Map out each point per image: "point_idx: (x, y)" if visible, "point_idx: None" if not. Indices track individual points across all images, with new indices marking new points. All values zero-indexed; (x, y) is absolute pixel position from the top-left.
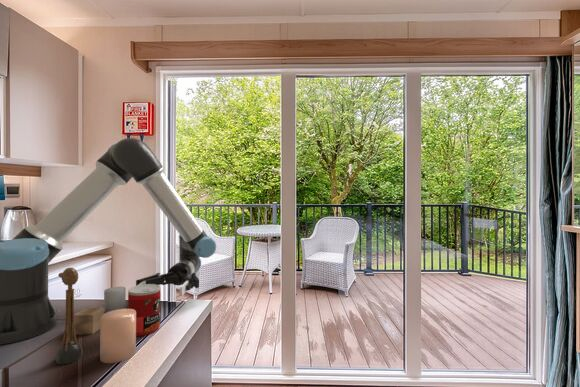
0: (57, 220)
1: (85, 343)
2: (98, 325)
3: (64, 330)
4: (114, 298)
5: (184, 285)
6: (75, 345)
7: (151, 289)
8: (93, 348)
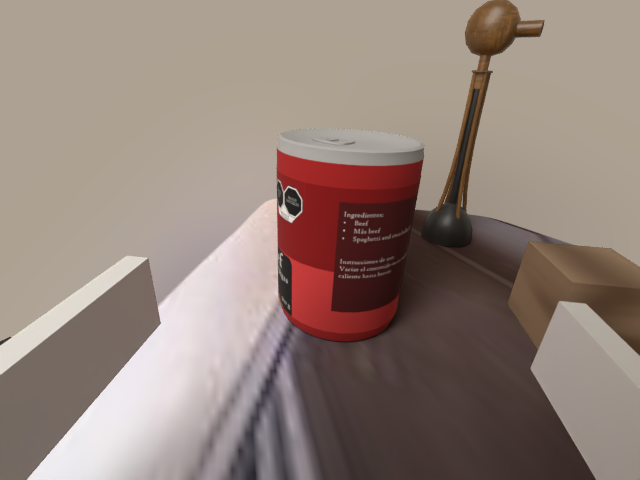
0: None
1: (470, 268)
2: (526, 310)
3: (468, 175)
4: None
5: (76, 296)
6: (436, 208)
7: (317, 143)
8: (425, 252)
